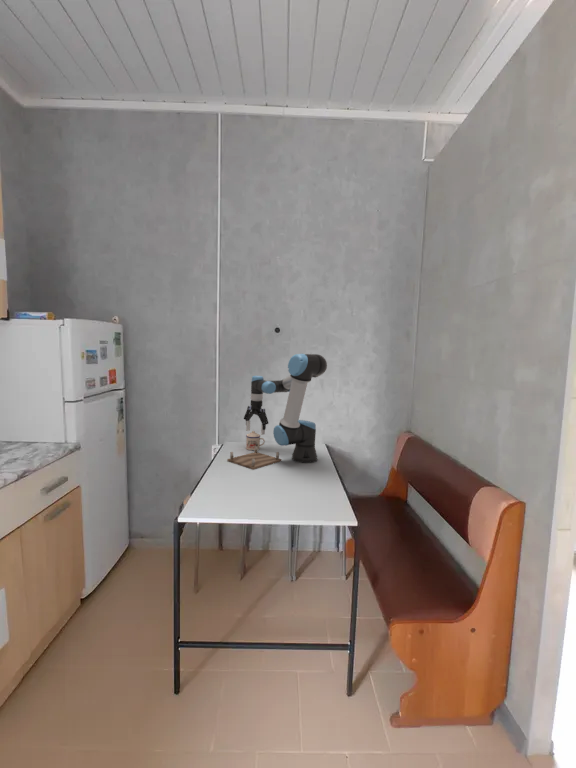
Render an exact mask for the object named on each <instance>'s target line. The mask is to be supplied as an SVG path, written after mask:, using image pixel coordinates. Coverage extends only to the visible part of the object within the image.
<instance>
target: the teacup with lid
mask: <svg viewBox="0 0 576 768" xmlns="http://www.w3.org/2000/svg"><path fill="white" fill-rule="evenodd" d="M245 437H246V438H245V439H246V440H245V444H246V445H245V448H246V450H248V451H252V450H254V451H255V446H258V449H259V450H260V447H261V446H263V445H264V444H265V442H266V441H265V439H264V438H263V437H261V434H259V433H257V432H256V431H255V430H252V431H251V432H250V433H247V434H246V435H245ZM261 440H262V441H263V442H262V444H260V443H261Z"/></svg>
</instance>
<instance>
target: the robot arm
mask: <svg viewBox="0 0 576 768" xmlns="http://www.w3.org/2000/svg"><path fill="white" fill-rule="evenodd" d="M327 368H328V362H327V360H326V358H324V356H322V355H320V354H317V353H313V354H312V353H310V354H309V353H295V354H294V355H292V356H291V357H290V359H289V361H288V364H287V369H288V373H289V375H288V376H286V377H284V378H283V379H280V380H279V379H278V380H265V379H264V376H262V375H252V377H251V381H250V385H251V388H250V399H251V400H250V405H248V406H247V409H246V412H245V414H244V415H243V420H245V425H246V427H245V431H247V432H249V431H251V418H252V417H253V416H254V415H256V416H257V417H258V419H259V420H260V422H261V426H260V436H264V435H266V430H267V426H266V425H269V420H268V416H267V414H266V413H267V412H266V408H262V407H263V396H264V395H263V394H264V393H265V394H268V395H270V394H274V393H288V392H289V393H288V396H287V401H286V404H285V409H284V413H283V414H284V415H283V418H281V419H280V420H279V423H278V424H277V425H275V426H274V428H273V432H272V433H273V438H274V441H275V442H276V443H277V444H278V445H279V446H290V445H295V446H294V449H293V452H292V453H291V459H292V461H294V462H298V463H305V464H308V463H314V462H317V461H318V454H317V450H316V434H317V433H316V432H317V427H316V423H315V422H313V421H311V420H310V421H309V420H303V419H300V415H301V412H302V406H303V403H304V399H305V395H306V391H307V387H308V383H310V382H311V381H312V378H313V379H314V378H318V377H320V376H322V375H323V374H324V373H325V372H326V371H327Z"/></svg>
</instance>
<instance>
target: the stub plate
mask: <svg viewBox="0 0 576 768" xmlns="http://www.w3.org/2000/svg"><path fill="white" fill-rule="evenodd" d="M275 453H276V455H275V457H274V456H271V455H267V454H265V453H260V452H258V446H255V450H254V451H253V452H251V453H245V454H241V455H239V456H235V457H234V452H233V451H230V456H229V457H230V458H227V460H226V461H227V462H229V463H232V464H235V465H238V466H240V467H244V468H246V469H250V470H252V471H253V470H257V469H260V468H263V467H267V466H271V465H274V464H276V463H277V464H278V463H280V461H281V462H282V461H283V460H282V459H281V458H280V452H279V451H277V452H275ZM273 463H274V464H273Z"/></svg>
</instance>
